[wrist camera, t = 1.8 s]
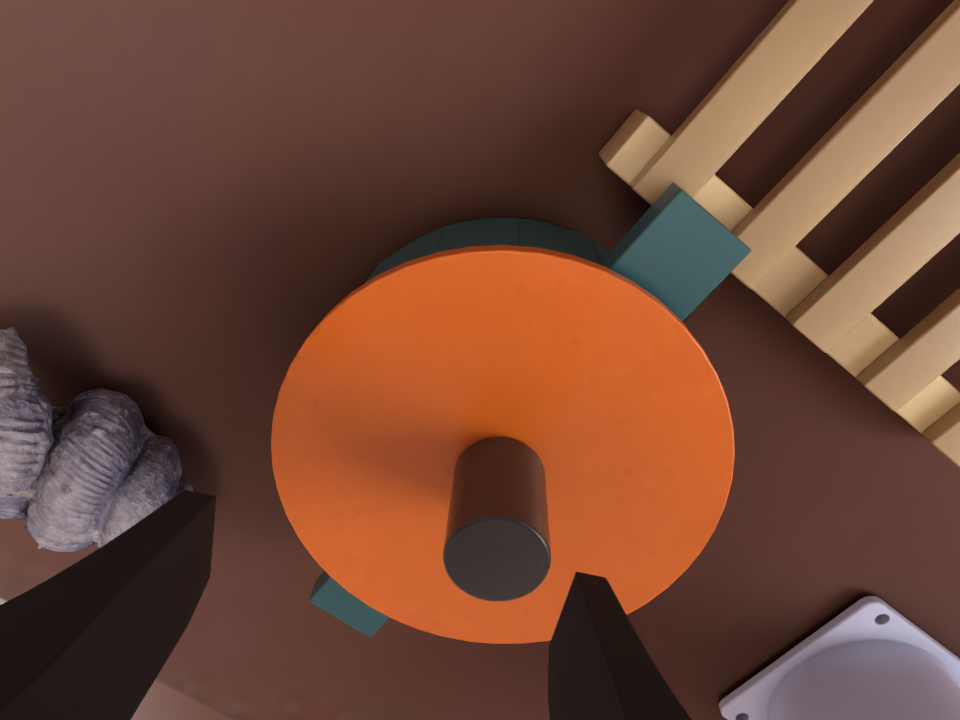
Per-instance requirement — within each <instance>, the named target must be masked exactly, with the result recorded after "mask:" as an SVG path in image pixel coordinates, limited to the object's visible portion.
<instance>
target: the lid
mask: <svg viewBox="0 0 960 720" xmlns="http://www.w3.org/2000/svg"><path fill="white" fill-rule="evenodd" d="M271 451H272V467H273V472H274V476H275V481H276V486H277V490H278V494H279V496H280V499H281V502H282V504H283V507H284V510H285V513H286V515H287V517H288V519H289V521H290V523H291V525H292V526H293V528H294V530H295V532H296V534H297V536H298V538H299V539H300V540H301V542H302V543H303V545H304V546H305V547H306V549H307V550H308V551H309V553H310V554H311V556H312V557H313V558H314V559H315V560H316V562H317V563H318V564H319V565H320V566H321V567H322V568H323V569H324V570H325V571H326V572H327V573H328V574H329V576H330V577H332V578H333V579H334V580H335V581H336V582H337V583H339V584H340V585H341V586H342V587H343V588H344V589H346V590H347V591H348V592H349V593H350V594H352V595H353V596H355V597H356V598H358V599H359V600H361V601H362V602H364V603H365V604H367V605H368V606H370V607H371V608H373V609H375V610H377V611H379V612H381V613H383V614H384V615H386V616H388V617H390V618H392V619H394V620H396V621H399V622H401V623H404V624H406V625H409V626H411V627H414V628H416V629H419V630H422V631H426V632H429V633H433V634H436V635H439V636H443V637H448V638H453V639H459V640H464V641H469V642H481V643H492V644H523V643H532V642H542V641H550V640H551V639H552V636H553V633H554V631H555V628H556V625H557V623H558V620H559V617H560V614H561V612H562V609H563V606H564V603H565V601H566V598H567V595H568V592H569V590H570V587H571V584H572V581H573V579H574V576H575V573H576V571H577V572H582V573H586V574H591V575H596V576H601V577H606V579H607V580H608V582H609V584H610V585H611V587H612V589H613V591H614V593H615V595H616V597H617V598H618V600H619V602H620V604H621V606H622V608H623V610H624V611H625V613H626V615H628V614H629V613H631V612H633V611H635V610H636V609H638V608H640V607H642V606H643V605H645V604H647V603H648V602H649V601H651V600H652V599H653V598H655V597H656V596H657V595H659V594H660V593H662V592H663V591H664V590H666V589H667V588H668V587H669V586H670V585H671V584H672V583H673V582H674V581H675V580H676V579H677V578H679V577H680V576H681V575H682V574H683V573H684V572H685V571H686V570H687V568H688V567H689V566H690V565H691V564H692V562H693V561H694V560H695V559H696V558H697V556H698V555H699V554H700V553H701V551H702V550H703V548H704V547H705V545H706V543H707V542H708V540H709V539H710V537H711V535H712V534H713V532H714V530H715V528H716V526H717V524H718V522H719V519H720V517H721V515H722V512H723V510H724V508H725V505H726V501H727V498H728V494H729V490H730V487H731V483H732V477H733V468H734V459H735V445H734V427H733V422H732V418H731V413H730V408H729V403H728V400H727V397H726V395H725V392H724V389H723V387H722V384H721V381H720V379H719V376H718V374H717V372H716V371H715V369H714V367H713V365H712V364H711V362H710V360H709V358H708V357H707V355H706V353H705V351H704V350H703V348H702V346H701V345H700V343H699V342H698V341H697V339H696V338H695V337H694V336H693V334H692V333H691V332H690V331H689V329H688V328H687V327H686V326H685V324H684V323H683V322H682V321H681V320H680V319H679V318H678V317H677V316H676V315H675V314H674V313H673V312H672V311H671V310H670V309H669V308H668V307H667V306H665V305H664V304H663V303H662V302H661V301H660V300H659V299H658V298H656V297H655V296H653V295H652V294H651V293H649V292H648V291H646V290H645V289H643V288H642V287H641V286H639V285H638V284H636V283H635V282H633V281H632V280H630V279H628V278H626V277H624V276H622V275H620V274H618V273H616V272H614V271H612V270H610V269H608V268H607V267H605V266H602V265H599V264H597V263H594V262H591V261H588V260H585V259H583V258H580V257H577V256H574V255H571V254H566V253H561V252H557V251H552V250H547V249H543V248H537V247H525V246H513V245H490V246H470V247H464V248H459V249H453V250H447V251H442V252H437V253H434V254H430V255H427V256H424V257H421V258H418V259H414V260H411V261H408V262H405V263H403V264H401V265H399V266H397V267H395V268H392V269H390V270H388V271H386V272H384V273H382V274H380V275H377V276H376V277H374V278H373V279H371V280H370V281H368V282H367V283H365V284H364V285H362V286H360V287H359V288H357V289H356V290H354V291H353V292H351V293H350V294H349V295H348V296H347V297H345V298H344V299H343V300H342V301H341V302H340V303H338V304H337V305H336V306H335V307H334V308H333V309H332V310H330V311H329V312H328V313H327V315H326V316H325V317H324V318H323V319H322V320H321V322H320V323H319V324H318V325H317V326H316V327H315V328H314V330H313V331H312V332H311V333H310V334H309V336H308V337H307V339H306V340H305V342H304V343H303V345H302V347H301V348H300V350H299V351H298V353H297V355H296V356H295V358H294V359H293V361H292V363H291V364H290V367H289V369H288V371H287V374H286V376H285V378H284V381H283V383H282V385H281V388H280V390H279V394H278V398H277V402H276V406H275V410H274V414H273V423H272V434H271Z"/></svg>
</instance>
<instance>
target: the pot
mask: <svg viewBox="0 0 960 720" xmlns="http://www.w3.org/2000/svg"><path fill="white" fill-rule="evenodd" d="M490 245H513V246H525V247H537V248H543V249H547V250H552V251H557V252H561V253H566V254H571V255H574V256H577V257H580V258H583V259H585V260H588V261H591V262H594V263H597V264H599V265H602V266H605V267H607V268H608V269H610V270H612V271H614V272H616V273H618V274H620V275H622V276H624V277H626V278H628V279H630V280H632V281H633V282H635V283H636V284H638V285H639V286H641V287H642V288H643V289H645V290H646V291H648V292H649V293H651V294H652V295H653V296H655V297H656V298H658V299H659V300H660V301H661V302H662V303H663V304H664V305H665V306H667V307H668V308H669V309H670V310H671V311H672V312H673V313H674V314H675V315H676V316H677V317H678V318H679V319H680V320H681V321H683V320H684V319H685V318H686V317H687V316H688V315H689V314H690V313H691V312H692V311H693V310H694V309H695V308H696V307H697V306H698V305H699V304H700V303H701V302H702V301H703V300H704V299H705V298H706V297H707V296H708V295H709V294H710V293H711V292H712V291H713V290H714V289H715V288H716V287H717V286H718V285H719V284H720V283H721V282H722V281H723V280H724V279H725V278H726V277H727V276H728V275H729V274H730V273H731V272H732V271H733V270H734V269H735V268H736V267H737V265H738V264H739V263H740V262H741V261H742V260H743V259H744V258H745V257H746V256H747V255H748V254H749V253H750V252H751V249H750V248H749V247H748V246H747V245H746V244H744V243H743V242H742V241H741V240H740V239H739V238H738V237H737V236H735V235H734V234H733V233H732V232H731V231H730V230H728V229H727V228H726V227H725V226H724V225H723V224H722V223H720V222H719V221H718V220H717V219H716V218H715V217H714V216H712V215H711V214H710V213H709V212H708V211H707V210H705V209H704V208H703V207H702V206H701V205H700V204H699V203H697V202H696V201H695V200H694V199H693V198H692V197H691V196H689V195H688V194H687V193H686V192H685V191H684V190H682V189H681V188H680V187H679V186H678V185H677V184H676V183H671V184H670V186H669V187H668V188H667V189H666V190H665V191H664V192H663V193H662V194H661V196H660V197H659V198H658V199H657V200H656V201H655V202H654V203H653V205H652V206H651V207H650V208H649V209H648V210H647V211H646V212H645V213H644V215H643V216H642V217H641V218H640V219H639V220H638V221H637V222H636V224H635V225H634V226H633V227H632V228H631V229H630V230H629V231H628V232H627V234H626V235H625V236H624V237H623V238H622V239H621V240H620V241H619V243H618V244H617V245H616V246H615V247H614V248H613V249H612V250H611V251H610V252H609V251H608V250H607V249H605V248H604V247H602V246H601V245H600V244H598V243H596V242H595V241H594V240H592V239H590V238H589V237H585V236H583V235H581V234H579V233H577V232H574V231H571V230H569V229H566V228H563V227H560V226H557V225H555V224H550V223H546V222H541V221H536V220H532V219H522V218H510V217H500V218H481V219H476V220H470V221H465V222H459V223H456V224H452V225H447V226H445V227H441V228H440V229H437V230H434V231H432V232H430V233H428V234H426V235H424V236H422V237H419V238H417V239H415V240H413V241H412V242H410V243H409V244H407V245H406V246H404V247H403V248H401V249H400V250H398V251H397V252H395V253H394V254H393V255H391V256H389V257H388V258H386V259H384V260H383V261H382V262H380V264H379V265H378V266H377V268H376V269H375V270H374V272H373V273H372V274H371V276H370V277H369V278H368V280H367V281H366V282H365V283H367V282H368V281H370V280H371V279H373V278H374V277H376V276H377V275H380V274H382V273H384V272H386V271H388V270H390V269H392V268H395V267H397V266H399V265H401V264H403V263H405V262H408V261H411V260H414V259H418V258H421V257H424V256H427V255H430V254H434V253H437V252H442V251H447V250H453V249H459V248H464V247H470V246H490ZM365 283H364V284H365ZM364 284H363V285H364ZM309 602H310V603H312V604H314V605H316V606H317V607H319V608H321V609H322V610H324V611H326V612H328V613H329V614H331V615H333V616H334V617H336V618H338V619H339V620H341V621H343V622H345V623H346V624H348V625H350V626H351V627H353V628H355V629H356V630H358V631H360V632H362V633H363V634H365V635H367V636H368V637H371V636H372V635H373V634H374V633H375V632H376V631H377V630H378V629H379V628H380V627H381V626H382V625H383V624H384V623H385V622H386V621H387V620H388V619H389V618H390V617H388V616H386V615H384V614H383V613H381V612H379V611H377V610H375V609H373V608H371V607H370V606H368V605H367V604H365V603H364V602H362V601H361V600H359V599H358V598H356V597H355V596H353V595H352V594H350V593H349V592H348V591H347V590H346V589H344V588H343V587H342V586H341V585H340V584H339V583H337V582H336V581H335V580H334V579H333V578H332V577H330V576H329V574H328V573H327V572H326V571H324V572H323V573H322V574H321V575H320V576H319V578H318V579H317V580H316V582H315V585H314V588H313V590H312V593H311V596H310V599H309Z"/></svg>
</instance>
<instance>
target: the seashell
mask: <svg viewBox="0 0 960 720" xmlns="http://www.w3.org/2000/svg"><path fill="white" fill-rule="evenodd" d="M27 353H28V351H27V347H26V345H25V344H24V343H23V341H21V339H20V337H19V336H18V333H17V332H16V331H15V329H14V328H13V327H12V328H6V329H0V518H1V519H16V520H21V519H25V518H27V523H26V526H25V529H26V530H28V531H29V532H30V533H31V535H32V536H33V538H34V540H35V541H36V542H37V549H44V548H47V549H50V550H53V551H61V552H75V551H78V550H81V549H84V548H86V547H88V546H90V545H92V544H93V545H95V546H97V547H99V548H101V547H102V546H104V545H105V544H107V543H108V542H110V541H111V540H113V539H114V538H116V537H117V536H119V535H120V534H122V533H123V532H125V531H126V530H128V529H129V528H131V527H132V526H133V525H135V524H136V523H138V522H139V521H141V520H142V519H143V518H145V517H146V516H148V515H149V514H151V513H152V512H153V511H155V510H156V509H158V508H159V507H160V506H162V505H163V504H165V503H166V502H167V501H169V500H170V499H172V498H173V497H175V496H176V495H177V494H179V493H181V492H182V491H184V490H188V491H193V492H194V490H193V485H192V483H191V482H190V481H189V480H188V478H186V477H183V476H181V475H182V462H181V458H180V454H179V451H178V450H177V447H176V445H175V444H174V443H173V442H172V441H171V440H170V438H167V437H164V436H161V435H158V434H154V433H153V432H151V431H150V430H149V429H148V428H147V427H146V425H145V424H144V419H143V415H142V413H141V411H140V409H139V407H138V405H137V403H135V401H134V400H133V399H131V398H130V397H129V396H128V395H127V394H123V393H120V392H117V391H111V390H107V389H103V388H99V389H94V390H89V391H84V392H82V393H80V394H78V395H77V396H75V397H74V398H73V400H72V401H71V403H70V406H69V407H68V406H50V403H49V400H48V399H47V398H46V397H45V396H44V391H45V390H43V389H41V388H39V387H38V385H39V379H38V378H36V377H34V375H33V374H32V372H31V367H29V366H28V360H29V358H26V357H27Z"/></svg>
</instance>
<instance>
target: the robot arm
mask: <svg viewBox="0 0 960 720" xmlns="http://www.w3.org/2000/svg"><path fill="white" fill-rule="evenodd" d="M215 507H216V496H212V495H208V494H203V493H198V492H193V491H188V490H184V491H182V492H181V493H179V494H177V495H176V496H175V497H173V498H172V499H170V500H169V501H167V502H166V503H165V504H163V505H162V506H160V507H159V508H158V509H156V510H155V511H153V512H152V513H151V514H149V515H148V516H146V517H145V518H143V519H142V520H141V521H139V522H138V523H136V524H135V525H133V526H132V527H131V528H129V529H128V530H126V531H125V532H123V533H122V534H120V535H119V536H117V537H116V538H114V539H113V540H111V541H110V542H108V543H107V544H105V545H104V546H102V547H101V548H99V549H98V550H96V551H94V552H93V553H91V554H90V555H88V556H87V557H85V558H83V559H82V560H80V561H78V562H77V563H75V564H73V565H72V566H70V567H68V568H67V569H65V570H63V571H62V572H60V573H58V574H57V575H55V576H53V577H52V578H50V579H48V580H47V581H45V582H43V583H41V584H39V585H38V586H36V587H34V588H32V589H30V590H29V591H27V592H25V593H23V594H21V595H19V596H17V597H15V598H14V599H12V600H10V601H8V602H6V603H4V604H2V605H0V720H131V718H132V716H133V715H134V713H135V711H136V710H137V708H138V706H139V705H140V703H141V701H142V700H143V698H144V697H145V695H146V693H147V691H148V690H149V688H150V687H151V685H152V684H153V682H154V680H155V679H156V677H157V675H158V674H159V672H160V670H161V669H162V667H163V666H164V664H165V662H166V661H167V659H168V657H169V656H170V654H171V652H172V651H173V649H174V647H175V646H176V644H177V642H178V641H179V639H180V637H181V636H182V634H183V632H184V631H185V629H186V627H187V626H188V624H189V622H190V619H191V617H192V615H193V613H194V611H195V609H196V607H197V605H198V602H199V600H200V598H201V596H202V593H203V591H204V589H205V587H206V584H207V582H208V580H209V578H210V570H211V557H212V545H213V532H214V519H215ZM881 614H882V615H881ZM878 615H881V616H878ZM877 616H878V617H877ZM548 703H549V714H550V720H691V718H690V717H689V716H688V714H687V713H686V711H685V710H684V708H683V707H682V706H681V704H680V703H679V701H678V700H677V698H676V697H675V695H674V694H673V692H672V691H671V689H670V688H669V686H668V685H667V683H666V681H665V680H664V678H663V677H662V675H661V674H660V672H659V670H658V669H657V667H656V665H655V664H654V662H653V660H652V659H651V657H650V655H649V654H648V652H647V650H646V649H645V647H644V645H643V644H642V642H641V640H640V638H639V637H638V635H637V633H636V631H635V629H634V628H633V626H632V624H631V622H630V620H629V619H628V617H627V615H626V613H625V611H624V610H623V608H622V606H621V604H620V602H619V600H618V598H617V597H616V595H615V593H614V591H613V589H612V587H611V585H610V584H609V582H608V580H607V579H606V577H601V576H596V575H591V574H586V573H582V572H577V571H576V573H575V576H574V579H573V581H572V584H571V587H570V590H569V592H568V595H567V598H566V601H565V603H564V606H563V609H562V612H561V614H560V617H559V620H558V623H557V625H556V628H555V631H554V633H553V636H552V639H551V642H550V644H549V666H548ZM719 708H720V711H721V714H722V716H723V717H724V718H726V719H727V720H960V658H958V657H957V656H956V655H954V654H953V653H952V652H950V651H949V650H948V649H946V648H945V647H944V646H942V645H941V644H940V643H938V642H937V641H936V640H934V639H933V638H932V637H930V636H929V635H928V634H926V633H925V632H924V631H922V630H921V629H920V628H918V627H917V626H916V625H914V624H913V623H912V622H910V621H909V620H908V619H907V618H905V617H904V616H903V615H901V614H900V613H899V612H897V611H896V610H895V609H893V608H892V607H891V606H889V605H888V604H887V603H885V602H884V601H883V600H881V599H880V598H878V597H876V596H867V597H863V598H862V599H860V600H858V601H857V602H856V603H854V604H853V605H852V606H850V607H849V608H847V609H846V610H845V611H843V612H842V613H840V614H839V615H838V616H836V617H835V618H834V619H832V620H831V621H829V622H828V623H827V624H825V625H824V626H823V627H821V628H820V629H818V630H817V631H816V632H814V633H813V634H812V635H810V636H809V637H807V638H806V639H805V640H803V641H802V642H800V643H799V644H798V645H796V646H795V647H794V648H792V649H791V650H789V651H788V652H787V653H785V654H784V655H783V656H781V657H780V658H778V659H777V660H776V661H774V662H773V663H772V664H770V665H769V666H767V667H766V668H765V669H763V670H762V671H760V672H759V673H758V674H756V675H755V676H754V677H752V678H751V679H749V680H748V681H747V682H745V683H744V684H743V685H741V686H740V687H738V688H737V689H736V690H734V691H733V692H732V693H730V694H729V695H727V696H726V697H725V698H723V699H722V700H721V701H720V703H719ZM740 713H741V714H740Z"/></svg>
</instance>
